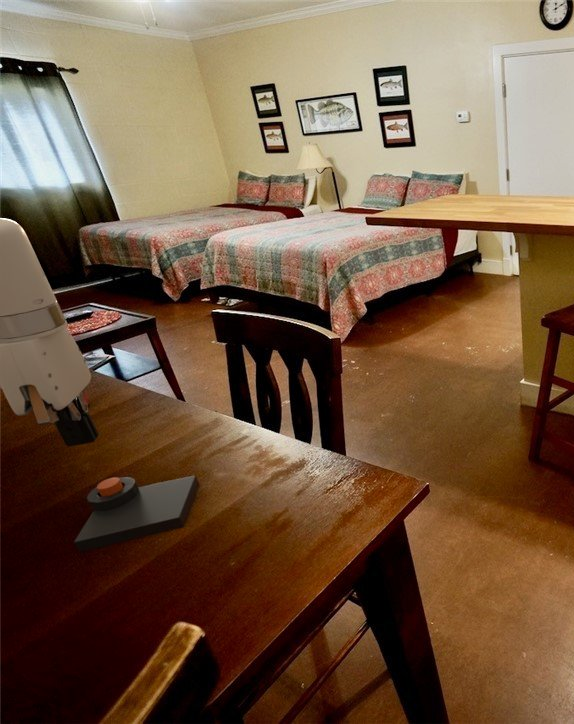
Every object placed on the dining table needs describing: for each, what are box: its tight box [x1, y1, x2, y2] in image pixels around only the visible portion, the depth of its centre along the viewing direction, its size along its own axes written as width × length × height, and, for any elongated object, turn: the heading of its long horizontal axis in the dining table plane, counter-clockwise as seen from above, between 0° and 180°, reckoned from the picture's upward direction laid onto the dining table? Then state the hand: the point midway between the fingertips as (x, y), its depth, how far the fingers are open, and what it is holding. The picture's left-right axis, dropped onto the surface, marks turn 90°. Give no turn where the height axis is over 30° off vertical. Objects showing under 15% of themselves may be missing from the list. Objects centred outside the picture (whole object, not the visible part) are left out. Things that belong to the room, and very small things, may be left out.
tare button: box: [96, 477, 123, 497], centre depth 70 cm, size 3×3×2 cm
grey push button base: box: [73, 474, 200, 553], centre depth 70 cm, size 13×11×4 cm
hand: (83, 441), depth 67 cm, fingers closed
